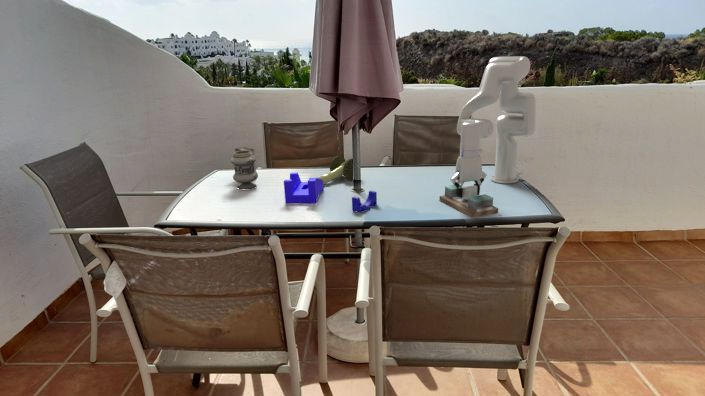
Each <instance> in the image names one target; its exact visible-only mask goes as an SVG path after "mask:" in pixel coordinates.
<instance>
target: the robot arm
mask: <svg viewBox="0 0 705 396" xmlns="http://www.w3.org/2000/svg"><path fill="white" fill-rule="evenodd" d="M530 69H531V60H530V59H529V58H528V57H527V56H523V55H520V56H519V55H518V56H517V55H515V56H509V55H508V56H494V57H492V58H490V59H489V61H488V64H487V65H486V67H485V68H484V71H483V74H482V78H481V82H480V85H479V87H478V92H477V94H476V95H475V96H473V97H472V98H471V99H469V100H468V102H467V103H465V105H463V107H462V108H461V111H460V113H459V117H458V120H457V124H456V131H457V134H458V135H460V143H459V144H460V147H459V156H458V157H457V160H456V162H455V163H456V165H455V170H454V171H455V173H454V175H453V176H451V178H450V181H451V183H452V185H455V187H457V191H456V194H457V197H459V198H462V196H463V189H462V186H463V185H465V184H464V183H469V182H474V184H473V185H475V186H478V188H477V196H478V195H480V193H481V186H482V184H483V182H484V181H485V180H486V177H487V173H486V172H485V171H483V168H482V167H483V163H482V157H481V155H480V153H482V152H483V150H482V148H481V139H487V138H489V137H490V136H491V135H492V134H493V133H494V124H493V122H492V121H491V120H490V119H486V118H473V117H471V116H472V115H473V114H474V113H475V112H477V111H478V110H480V109H483V108H485V107H488V106H491V105H493V104H495V103H496V102H498V109H499V112H502V113H505V114H502V115H499V116H498V117H497V118H496V120H495V135H496V145H495V147H496V148H495V162H494V163H495V164H494V175H492V176H491V177H490V180H491V181H492V182H493V183H496V184H497V183H498V184H507V185H508V184H516V183H518V181H519V178H518V176H523V175H524V170H519V171H518V170H516V169H517V157H518V156H517V155H518V142H517V141H516V138H515V137H531V136H533V135H534V132H535V130H536V111H537V110H536V108H537V107H536V106H537V104H536V103H537V102H536V97H535V95H534V93H531V92H530V91H529V92H526V91H519V82H520V81H521V82H522V80H523V79H525V78H526V77H527V76H528V75H529V72H530ZM459 184H460V185H459Z"/></svg>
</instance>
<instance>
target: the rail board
mask: <svg viewBox="0 0 705 396" xmlns="http://www.w3.org/2000/svg"><path fill="white" fill-rule="evenodd" d="M459 185H460V184H459ZM456 191H457V187H455V185H454V184H452V185H445V186H444V194H443V195H439V201H440V202H441V203H443V204H445V205H447V206H448V207H451V208H453V209H455V210H457V211H459V212H460V213H462V214H463V215H465V216H467V217H470V218H471V219H473V218H478V217H484V216H489V215H495V214H496V215H497V214H498V213H499V208H498V207H496V206H494V197H492V196H490V195H489V194H479V195H477V196H471V197H468V200H466V199H460V198H459V197H457V194H456Z"/></svg>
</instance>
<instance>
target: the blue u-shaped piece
mask: <svg viewBox="0 0 705 396" xmlns="http://www.w3.org/2000/svg"><path fill="white" fill-rule="evenodd" d="M377 204H378V199H377V191H375V190H369V191H368V195H367V198H366V200H365V201H364V202H363V203H362V202H361V197H360V196H359V197H358V196H351V211H352V210H353V211H352V212H355V211H357V212H356V213H358V212H362V211H364V212H366V211H365V210H367V211H369V210H371V208H372V206H373V207H375V206H377ZM368 209H369V210H368ZM362 213H363V212H362Z"/></svg>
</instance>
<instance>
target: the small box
mask: <svg viewBox="0 0 705 396" xmlns="http://www.w3.org/2000/svg"><path fill="white" fill-rule="evenodd" d="M477 188H478V186H475V185H474V184H467V183H465V184H463V186H462V189H463V196H462V198H460V199H466V200H468V197H471V196H478V195H477Z"/></svg>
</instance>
